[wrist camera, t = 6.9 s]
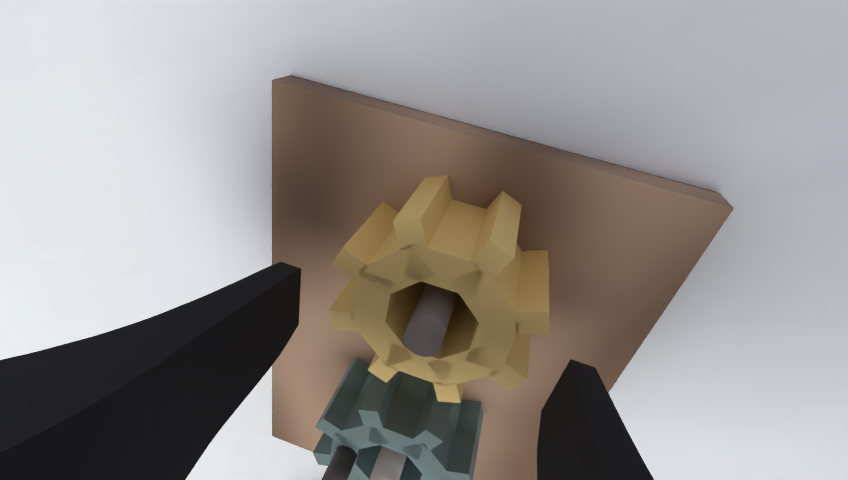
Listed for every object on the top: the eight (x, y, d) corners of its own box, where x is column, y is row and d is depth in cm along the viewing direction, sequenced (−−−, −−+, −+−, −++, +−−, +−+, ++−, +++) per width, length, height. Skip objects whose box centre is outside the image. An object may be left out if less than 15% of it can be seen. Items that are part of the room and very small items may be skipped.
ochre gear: (574, 210, 11) (582, 267, 9) (512, 353, 14) (505, 425, 12) (381, 156, 12) (337, 193, 10) (360, 302, 15) (323, 360, 13)
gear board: (719, 193, 11) (841, 321, 7) (515, 509, 21) (506, 654, 16) (290, 75, 13) (143, 112, 8) (282, 419, 22) (212, 527, 18)
